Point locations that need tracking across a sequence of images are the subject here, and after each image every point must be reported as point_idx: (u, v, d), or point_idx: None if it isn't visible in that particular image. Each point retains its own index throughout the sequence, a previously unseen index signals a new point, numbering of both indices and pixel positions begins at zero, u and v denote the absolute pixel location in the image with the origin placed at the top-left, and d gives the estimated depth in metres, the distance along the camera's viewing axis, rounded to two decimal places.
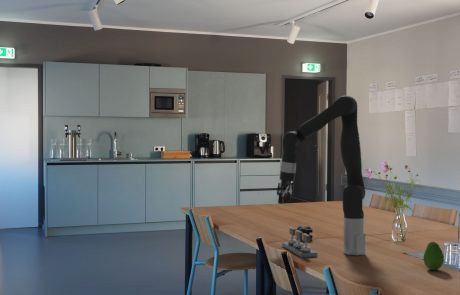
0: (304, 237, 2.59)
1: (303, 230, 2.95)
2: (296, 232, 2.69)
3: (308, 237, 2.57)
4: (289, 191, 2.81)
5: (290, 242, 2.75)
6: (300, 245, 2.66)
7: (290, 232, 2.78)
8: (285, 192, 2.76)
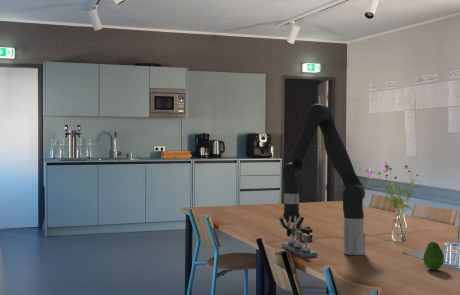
0: (304, 237, 2.59)
1: (303, 230, 2.95)
2: (296, 232, 2.69)
3: (308, 237, 2.57)
4: (293, 224, 2.78)
5: (290, 242, 2.75)
6: (300, 245, 2.66)
7: (290, 232, 2.78)
8: (290, 224, 2.77)
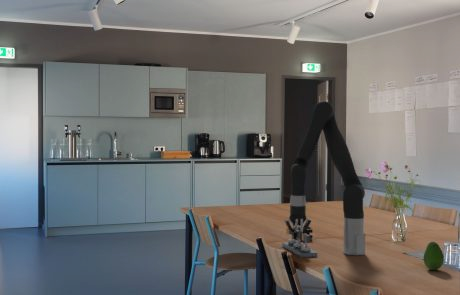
0: (304, 237, 2.59)
1: None
2: (296, 232, 2.69)
3: (308, 237, 2.57)
4: (300, 227, 2.70)
5: (293, 242, 2.75)
6: (300, 245, 2.66)
7: (290, 232, 2.77)
8: (296, 227, 2.68)
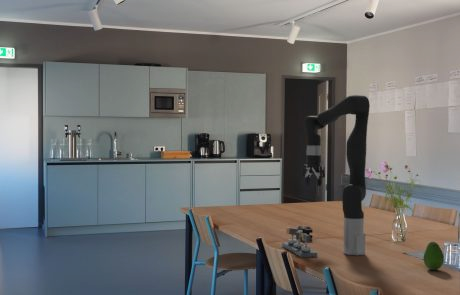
0: (304, 237, 2.59)
1: (303, 230, 2.95)
2: None
3: (308, 237, 2.57)
4: (316, 174, 2.86)
5: (293, 242, 2.75)
6: (297, 245, 2.66)
7: (290, 232, 2.77)
8: (307, 173, 2.91)
